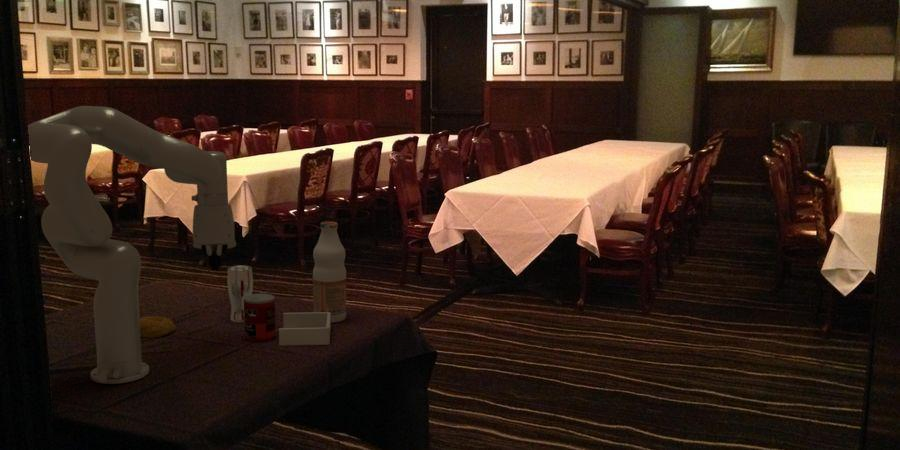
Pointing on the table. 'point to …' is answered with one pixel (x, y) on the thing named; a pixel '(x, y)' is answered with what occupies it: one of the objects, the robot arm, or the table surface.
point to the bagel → (155, 327)
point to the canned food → (259, 317)
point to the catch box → (305, 329)
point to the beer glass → (239, 289)
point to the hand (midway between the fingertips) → (215, 269)
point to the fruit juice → (329, 273)
